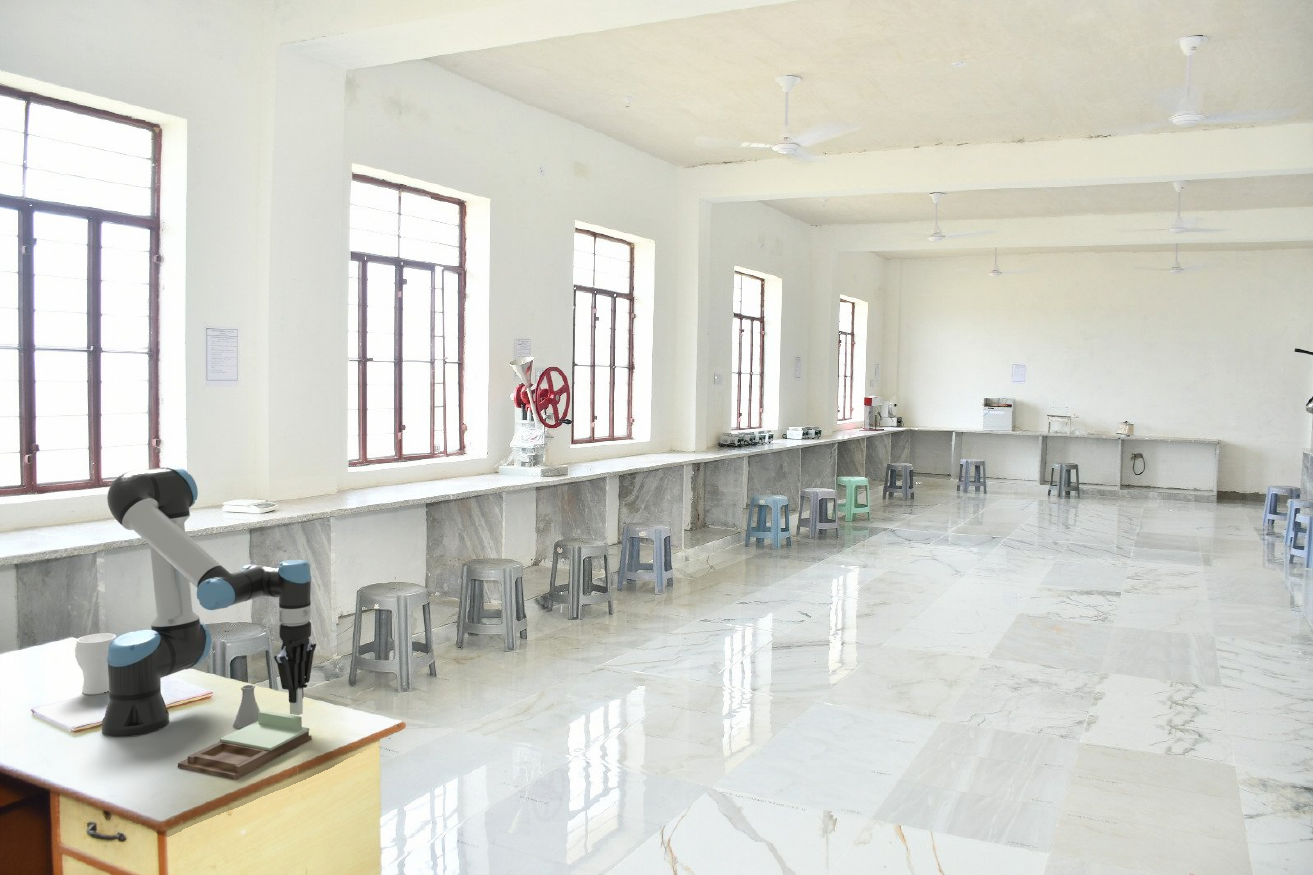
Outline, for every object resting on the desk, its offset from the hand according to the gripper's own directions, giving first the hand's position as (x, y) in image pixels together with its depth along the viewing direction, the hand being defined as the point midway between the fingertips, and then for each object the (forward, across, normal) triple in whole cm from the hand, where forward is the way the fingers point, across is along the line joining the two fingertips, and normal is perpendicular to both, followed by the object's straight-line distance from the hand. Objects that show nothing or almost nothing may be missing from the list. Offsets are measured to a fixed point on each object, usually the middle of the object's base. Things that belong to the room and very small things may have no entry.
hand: (296, 713), depth 248 cm
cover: (+2, -11, 0) cm, 11 cm away
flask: (+5, -1, +14) cm, 15 cm away
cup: (+5, +3, +71) cm, 71 cm away
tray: (+4, -16, +1) cm, 17 cm away
